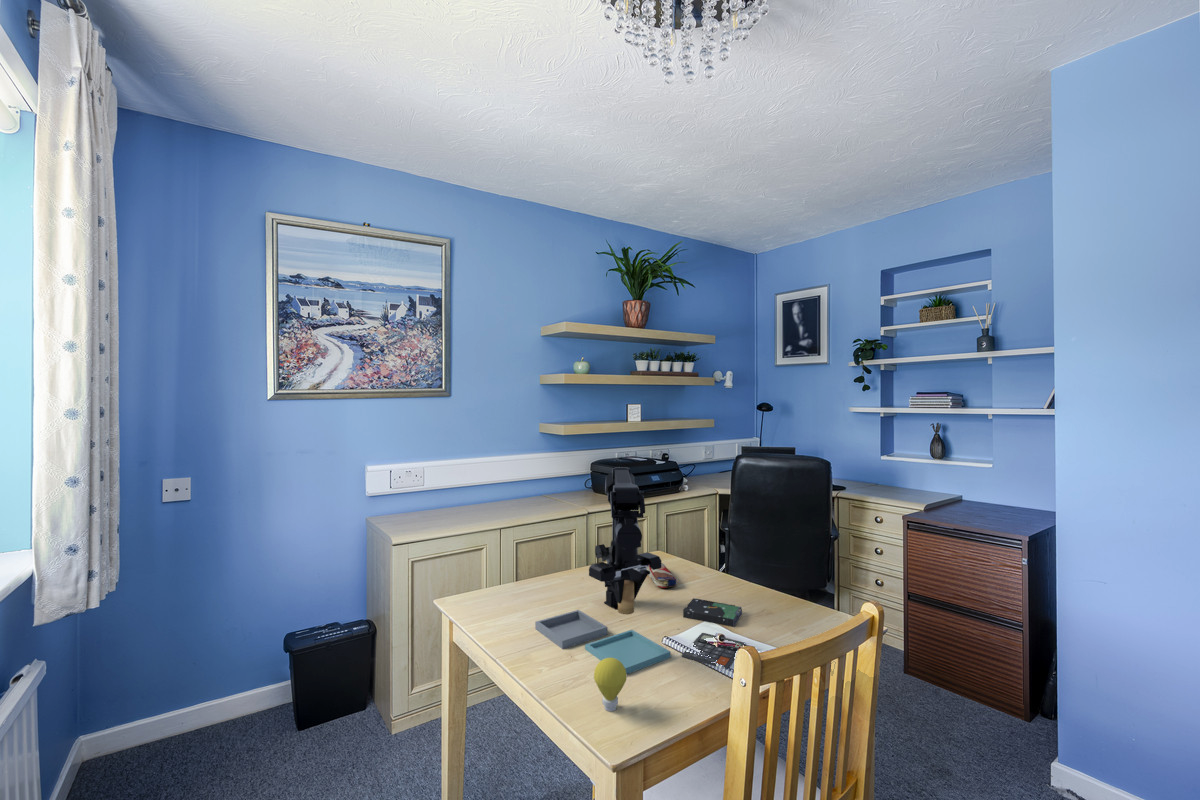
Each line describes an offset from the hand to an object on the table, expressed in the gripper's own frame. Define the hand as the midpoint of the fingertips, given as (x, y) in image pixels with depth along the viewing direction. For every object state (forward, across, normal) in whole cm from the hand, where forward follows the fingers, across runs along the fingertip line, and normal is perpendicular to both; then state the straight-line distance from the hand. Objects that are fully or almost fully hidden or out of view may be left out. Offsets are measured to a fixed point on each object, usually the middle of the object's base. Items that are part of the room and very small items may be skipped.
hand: (626, 600), depth 134 cm
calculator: (+14, -19, +11) cm, 26 cm away
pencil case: (+13, -42, -35) cm, 56 cm away
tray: (+13, 0, 0) cm, 13 cm away
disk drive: (+14, -35, -4) cm, 38 cm away
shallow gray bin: (+13, +5, -18) cm, 23 cm away
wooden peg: (+2, 0, 0) cm, 2 cm away
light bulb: (+14, +17, +16) cm, 27 cm away
